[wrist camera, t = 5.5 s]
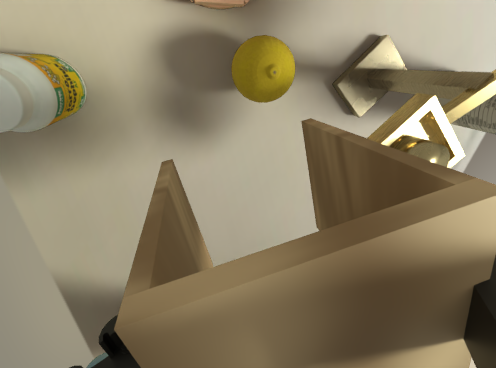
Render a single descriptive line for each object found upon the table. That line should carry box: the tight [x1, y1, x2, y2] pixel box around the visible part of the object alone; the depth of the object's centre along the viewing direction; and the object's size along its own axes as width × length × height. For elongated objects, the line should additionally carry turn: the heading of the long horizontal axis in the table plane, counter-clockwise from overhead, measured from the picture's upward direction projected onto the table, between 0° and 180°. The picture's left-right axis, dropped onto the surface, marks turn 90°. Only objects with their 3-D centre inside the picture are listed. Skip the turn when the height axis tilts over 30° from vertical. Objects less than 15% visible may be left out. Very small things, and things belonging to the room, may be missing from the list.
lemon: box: [231, 35, 295, 102], centre depth 23 cm, size 6×6×8 cm
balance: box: [332, 35, 496, 168], centre depth 22 cm, size 19×6×17 cm, turn 134°
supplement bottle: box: [0, 53, 87, 133], centre depth 20 cm, size 5×5×10 cm
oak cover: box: [114, 119, 496, 368], centre depth 12 cm, size 9×8×11 cm
